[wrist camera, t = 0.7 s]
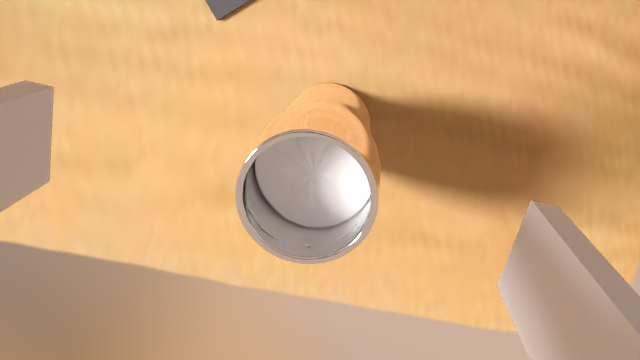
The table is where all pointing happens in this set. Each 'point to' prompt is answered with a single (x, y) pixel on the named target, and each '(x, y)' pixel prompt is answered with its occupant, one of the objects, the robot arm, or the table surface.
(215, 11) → the mat
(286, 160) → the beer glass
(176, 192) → the table surface
